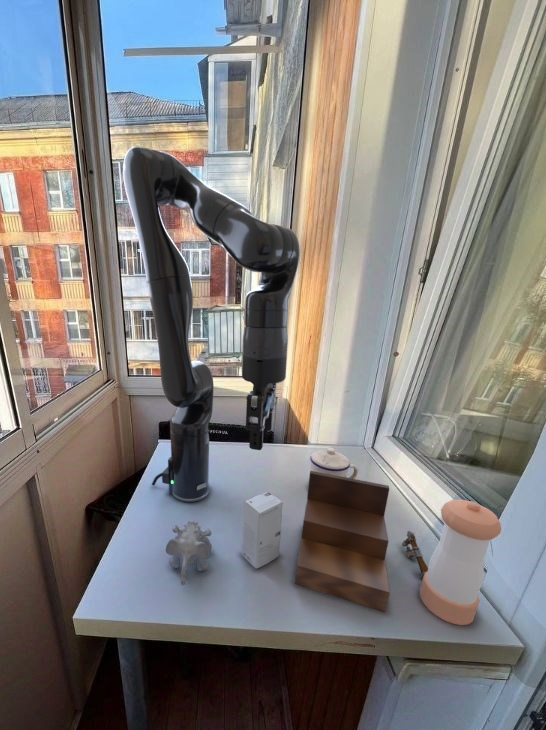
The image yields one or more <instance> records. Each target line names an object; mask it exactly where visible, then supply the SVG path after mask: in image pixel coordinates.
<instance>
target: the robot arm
mask: <svg viewBox="0 0 546 730" xmlns="http://www.w3.org/2000/svg"><path fill="white" fill-rule="evenodd" d="M122 176H123V177H122V178H123V183H124V189H125V193H126V197H127V198H126V199H127V201H128V206H129V208H130V213H131V216H132V219H133V223H134V226H135V230H136V234H137V239H138V242H139V248H140V252H141V258H142V263H143V268H144V274H145V280H146V286H147V291H148V292H147V293H148V296H149V302H150V306H151V311H152V317H153V323H154V329H155V334H156V340H157V347H158V357H159V369H160V382H161V387H162V391H163V394H164V396H165V398H166V399H167V401H168V402H169V403H170V404H171V405H173V406H174V407H176V408H175V410H174V411H173V414H172V415H171V418H170V420H169V432H170V456H169V458H168V460H167V466H166V468H165V469H164V470H163V471H162V472H160V473H158V474H157V475H156V476H155V477H154V479H153V480H152V482H151V486H153V487H154V486H155V485H156V483H157V481H158V480H159V479H160V478H161V482H162V484H165V485H168V494H169V495H172V496H173V497H174V498H175V499H176V500H178V501H180V502H184V503H193V502H199V501H202V500H204V499H206V498H207V497H208V495H209V493H210V482H209V481H210V422H211V419H212V416H213V407H214V389H215V388H214V377H213V374H212V371H211V369H210V367H209V366H208V365H207V364H206V363H205V362H203V361H201V360H198V359H196V360H195V359H194V360H193V359H192V358H191V352H190V346H189V345H190V344H189V335H190V334H189V333H190V328H191V322H192V316H193V311H194V292H193V286H192V280H191V279H192V278H191V274H190V269H189V266H188V263H187V262H186V260H185V258H184V256H183V255H182V253H181V252H180V250H179V249H178V247H177V246H176V244H175V242H174V241H173V239H172V238H171V237H170V235H169V233H168V231H167V230H166V228H165V225H164V223H163V220H162V217H161V212H160V208H159V206H161V207H162V206H170V207H173V208H177V209H180V210H182V211H184V212H186V213H187V214H188V215H189V217H190V219H191V221H192V223H193V225H194V226H195V227H196V228H197V229H198V231H200V233H202V234H203V235H205V236H206V237H208V238H209V239H211V240H212V241H213V242H215V243H216V244H217V245H219V246H221V247H223V248H224V250H225V251H226V252H227V254H228V255H229V256H230V257H231V259H233V261H234V262H236V263H237V264H238V265H239V266H240V267H242V268H244V269H245V270H247V271H250V272H253V273H260V275H259V280H258V284H257V287H256V288H254V289H252V290H250V291H249V292H248V293H247V294H246V296H245V301H244V327H243V336H242V353H241V354H242V355H241V356H242V358H241V359H242V360H241V378H242V379H243V380H244V381H246V382H248V383H251V384H252V385H253V386H252V390H249V394H247V395H246V397H245V398H246V410H245V430H246V431H249V444H248V446H249V448H250V449H251V450H255V451H262V449H263V447H264V431H265V432H271V430H272V428H273V413H274V411H275V406H276V405H277V401H276V399H277V384H280V383H282V382H284V381H285V380H286V376H287V360H288V346H289V345H288V343H289V338H288V337H289V336H288V316H289V299H290V295H291V293H292V290H293V287H294V283H295V279H296V276H297V273H298V272H297V271H298V268H299V265H300V264H299V263H300V255H301V251H300V250H301V249H300V242H299V238H298V236H297V234H296V233H295V231H294V230H292V229H291V228H290V227H287V226H285V225H278V224H273V223H270V222H269V223H268V222H266V221H263V220H260V219H259V218H256V217H255V216H253V214H252V212H251V210H249V209H248V208H247V207H246V206H245V205H243V204H241V203H240V202H238V201H236V200H235V199H233V198H231V197H229V196H227V195H226V194H225V193H222V192H220V191H218V190H217V189H215V188H213V187H211V186H209V185H208V184H207V183H205V182H204V181H202V180H201V179H200V178H198V177H197V176H196V175H195V174H193V172H192V171H190V170H189V169H188V167H186V165H184V163H182V162H181V161H180V160H179V159H178V158H176V157H175V156H174V155H172V154H170V153H168V152H165V151H161V150H157V149H153V148H149V147H144V146H131V148H129V149H128V151H127V152H125V156H124V159H123V165H122ZM255 418H257V422H254V420H255Z"/></svg>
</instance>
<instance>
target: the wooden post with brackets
mask: <svg viewBox="0 0 546 730" xmlns="http://www.w3.org/2000/svg"><path fill="white" fill-rule="evenodd" d="M406 532H407V534H406V537H407V538H406V539H405V540H403V541H402V543H401V545H402V547H405V549H406V550H405V553H406V555H407V558H409V559H410V560H412V561H413V560H415V559H416V561H417V563H418V567H419V571H420V574H419V578H420V579H423V576H424V574H425V572H427V571H428V567H429V566H428V565H427V564H426V562H425V560H424V558H423V557H424V556H423V554H422V552H421V548H420V546H418V543H417V539H416V536H415V533H414V532H412V531H411V530H407V531H406ZM409 545H410V546H411V547H410V546H409Z"/></svg>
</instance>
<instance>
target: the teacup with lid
mask: <svg viewBox="0 0 546 730" xmlns="http://www.w3.org/2000/svg"><path fill="white" fill-rule="evenodd" d="M309 458H310V459H309V460H310V466H309V467H310V468H309V472H310V471H315V472H320V473H325V474H330V475H335V476H341V477H346V478H351V479H357V477H358V474H359V469H358V466H357V465H355V464H353V463H350V460H349V459H348V457H347V456H345V455H344V454H343V453H340V452H338V451H336V448H333V447H327V448H326V449H320V450H315V451H314V452H312V454H311V455H310V457H309ZM349 469H353V472H352V473H351V475H350V476H349V477H348V472H349ZM309 477H310V474H309ZM309 477H308V478H309ZM307 484H308V486H309V483H307Z"/></svg>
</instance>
